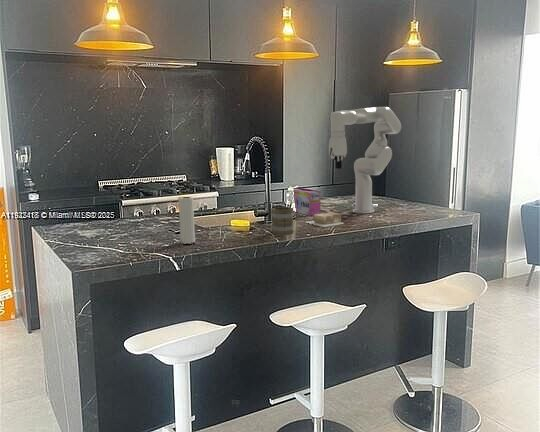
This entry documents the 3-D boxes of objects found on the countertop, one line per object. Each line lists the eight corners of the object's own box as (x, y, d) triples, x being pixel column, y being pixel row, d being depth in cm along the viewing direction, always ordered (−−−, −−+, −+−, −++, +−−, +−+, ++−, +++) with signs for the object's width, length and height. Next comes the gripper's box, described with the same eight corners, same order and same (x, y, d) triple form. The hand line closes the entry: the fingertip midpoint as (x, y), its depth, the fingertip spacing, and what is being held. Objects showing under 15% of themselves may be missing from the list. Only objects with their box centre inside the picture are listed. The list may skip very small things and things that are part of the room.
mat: (324, 219, 296) (324, 219, 296) (344, 223, 283) (344, 223, 283) (304, 222, 288) (304, 222, 288) (324, 227, 275) (324, 226, 275)
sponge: (331, 212, 293) (313, 214, 286) (341, 214, 286) (323, 216, 279) (331, 219, 293) (313, 222, 287) (340, 221, 287) (323, 224, 280)
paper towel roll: (196, 244, 242) (194, 197, 238) (182, 245, 241) (180, 198, 237) (193, 241, 249) (191, 195, 245) (180, 242, 247) (178, 196, 244)
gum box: (287, 210, 329) (287, 188, 326) (298, 209, 333) (298, 187, 330) (309, 215, 309) (309, 192, 306) (321, 214, 312) (321, 191, 310)
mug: (295, 234, 260) (295, 209, 258) (273, 235, 258) (273, 210, 256) (289, 228, 275) (289, 204, 273) (268, 229, 273) (268, 205, 271)
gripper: (343, 133, 301) (343, 166, 305) (323, 135, 293) (323, 169, 297) (352, 134, 295) (353, 167, 299) (332, 135, 287) (333, 170, 291)
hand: (338, 168), depth 298 cm, fingers closed
